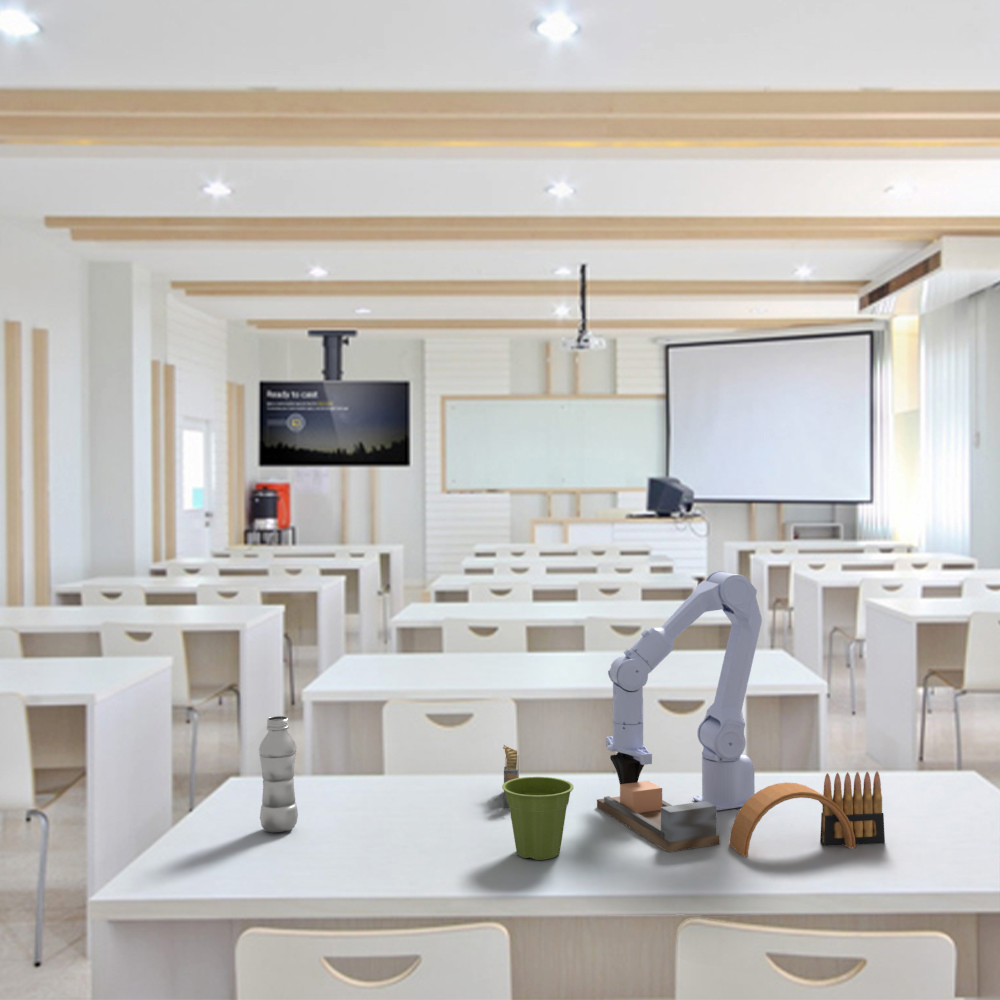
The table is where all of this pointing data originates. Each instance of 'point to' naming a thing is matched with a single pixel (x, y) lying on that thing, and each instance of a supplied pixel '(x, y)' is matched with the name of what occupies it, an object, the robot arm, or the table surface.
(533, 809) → the plant pot
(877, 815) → the ammunition clip
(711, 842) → the keeper track
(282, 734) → the plastic bottle
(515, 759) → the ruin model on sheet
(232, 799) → the table surface
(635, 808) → the block
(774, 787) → the arch
